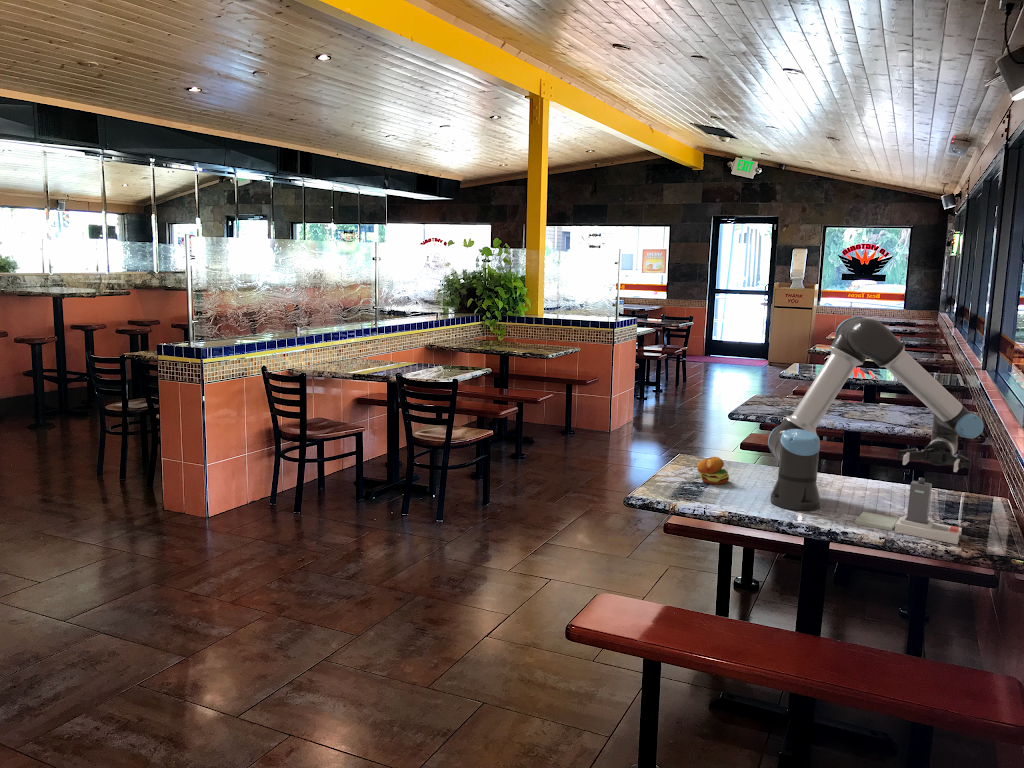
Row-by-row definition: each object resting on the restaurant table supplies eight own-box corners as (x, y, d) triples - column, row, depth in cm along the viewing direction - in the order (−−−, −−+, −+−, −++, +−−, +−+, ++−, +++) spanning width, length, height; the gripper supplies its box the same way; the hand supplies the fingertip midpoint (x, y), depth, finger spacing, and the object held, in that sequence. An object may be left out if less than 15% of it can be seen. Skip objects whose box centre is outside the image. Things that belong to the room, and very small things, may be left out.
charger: (906, 523, 229) (911, 478, 227) (908, 520, 232) (913, 475, 230) (925, 527, 226) (930, 481, 224) (927, 523, 229) (932, 478, 228)
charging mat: (854, 523, 235) (854, 520, 235) (863, 514, 245) (863, 511, 245) (891, 530, 230) (891, 527, 230) (898, 521, 239) (898, 518, 239)
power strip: (894, 532, 229) (895, 520, 228) (900, 524, 236) (901, 513, 236) (965, 545, 219) (966, 533, 218) (968, 537, 226) (970, 526, 225)
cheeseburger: (736, 484, 276) (732, 457, 274) (708, 492, 274) (704, 465, 272) (722, 476, 285) (718, 450, 283) (695, 484, 283) (691, 458, 281)
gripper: (983, 469, 245) (976, 483, 228) (895, 457, 260) (882, 469, 243) (985, 445, 244) (978, 457, 227) (897, 435, 259) (884, 445, 242)
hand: (929, 464), depth 235 cm, fingers open, 13 cm apart
